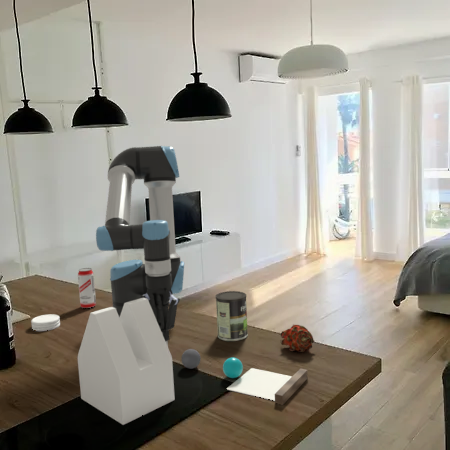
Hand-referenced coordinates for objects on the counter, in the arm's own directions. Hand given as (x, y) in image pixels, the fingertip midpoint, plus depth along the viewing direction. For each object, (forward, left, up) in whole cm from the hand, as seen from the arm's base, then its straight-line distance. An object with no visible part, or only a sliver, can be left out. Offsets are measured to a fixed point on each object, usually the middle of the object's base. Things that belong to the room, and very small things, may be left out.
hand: (163, 350), depth 150 cm
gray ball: (0, +10, -1) cm, 10 cm away
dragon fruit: (-25, +32, -4) cm, 41 cm away
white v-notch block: (+22, +6, -4) cm, 23 cm away
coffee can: (-27, +8, -4) cm, 29 cm away
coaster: (-6, -60, -4) cm, 61 cm away
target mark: (0, +33, -4) cm, 33 cm away
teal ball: (0, +24, -1) cm, 24 cm away
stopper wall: (0, +41, -4) cm, 41 cm away
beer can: (-30, -63, -4) cm, 70 cm away
